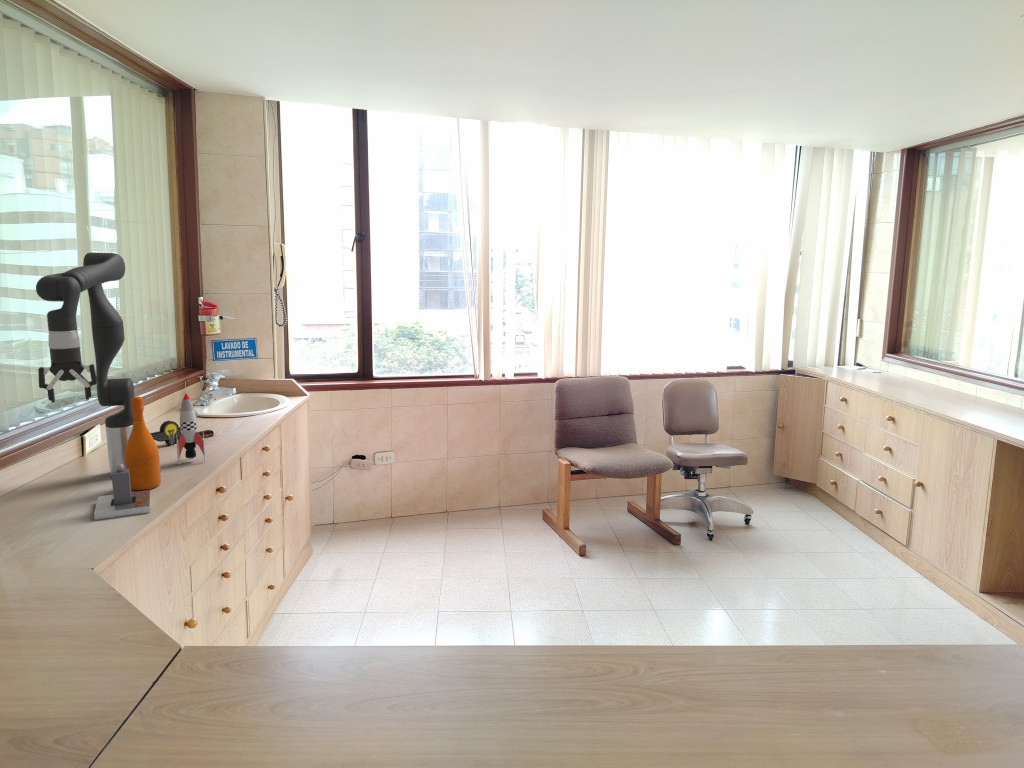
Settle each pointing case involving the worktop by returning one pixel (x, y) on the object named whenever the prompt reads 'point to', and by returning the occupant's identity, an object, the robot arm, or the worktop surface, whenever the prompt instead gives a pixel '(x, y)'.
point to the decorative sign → (174, 433)
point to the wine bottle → (142, 452)
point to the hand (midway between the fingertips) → (70, 400)
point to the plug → (121, 486)
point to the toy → (189, 430)
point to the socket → (122, 506)
